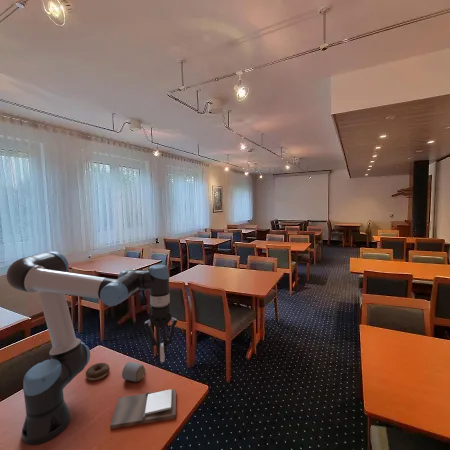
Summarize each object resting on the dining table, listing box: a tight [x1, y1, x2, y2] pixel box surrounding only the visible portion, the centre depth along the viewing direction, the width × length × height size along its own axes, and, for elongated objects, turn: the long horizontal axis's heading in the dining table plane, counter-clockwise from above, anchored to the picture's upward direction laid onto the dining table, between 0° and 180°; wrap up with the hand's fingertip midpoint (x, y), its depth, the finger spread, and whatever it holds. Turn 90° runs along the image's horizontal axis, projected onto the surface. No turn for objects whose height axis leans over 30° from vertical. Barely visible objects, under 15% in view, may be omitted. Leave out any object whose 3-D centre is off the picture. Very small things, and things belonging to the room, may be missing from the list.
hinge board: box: [109, 388, 177, 430], centre depth 105 cm, size 24×14×2 cm, turn 100°
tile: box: [145, 388, 173, 415], centre depth 106 cm, size 10×10×1 cm
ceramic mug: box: [121, 361, 146, 383], centre depth 125 cm, size 11×8×8 cm
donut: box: [85, 362, 110, 381], centre depth 127 cm, size 11×11×4 cm
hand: (162, 360), depth 105 cm, fingers closed
